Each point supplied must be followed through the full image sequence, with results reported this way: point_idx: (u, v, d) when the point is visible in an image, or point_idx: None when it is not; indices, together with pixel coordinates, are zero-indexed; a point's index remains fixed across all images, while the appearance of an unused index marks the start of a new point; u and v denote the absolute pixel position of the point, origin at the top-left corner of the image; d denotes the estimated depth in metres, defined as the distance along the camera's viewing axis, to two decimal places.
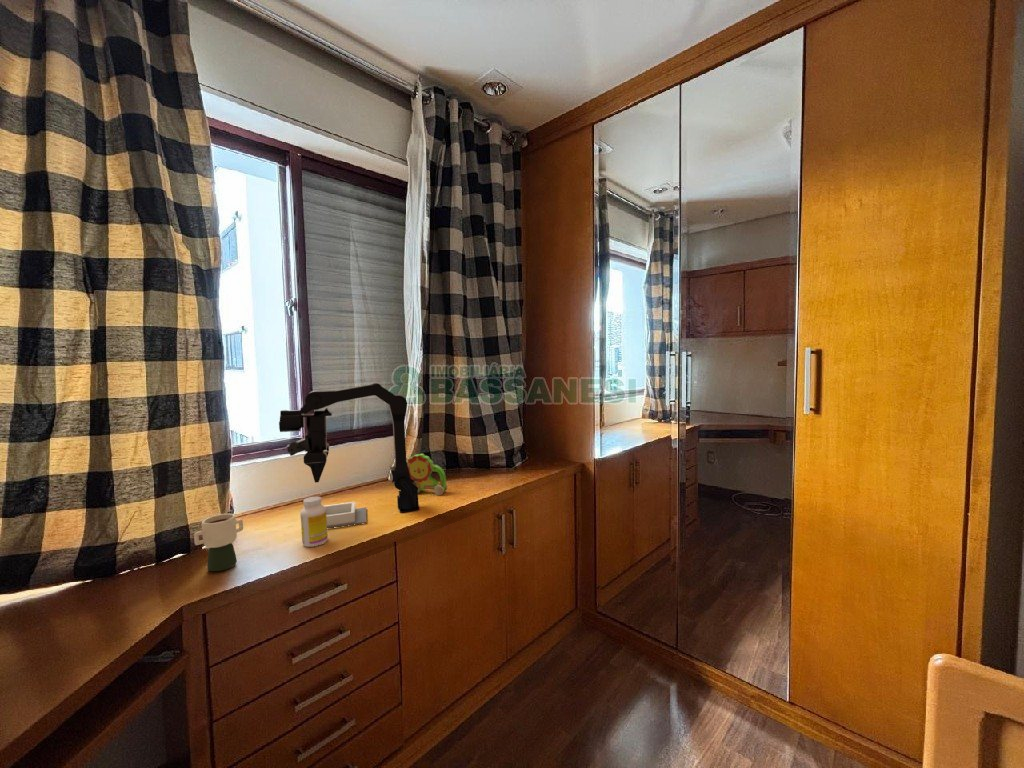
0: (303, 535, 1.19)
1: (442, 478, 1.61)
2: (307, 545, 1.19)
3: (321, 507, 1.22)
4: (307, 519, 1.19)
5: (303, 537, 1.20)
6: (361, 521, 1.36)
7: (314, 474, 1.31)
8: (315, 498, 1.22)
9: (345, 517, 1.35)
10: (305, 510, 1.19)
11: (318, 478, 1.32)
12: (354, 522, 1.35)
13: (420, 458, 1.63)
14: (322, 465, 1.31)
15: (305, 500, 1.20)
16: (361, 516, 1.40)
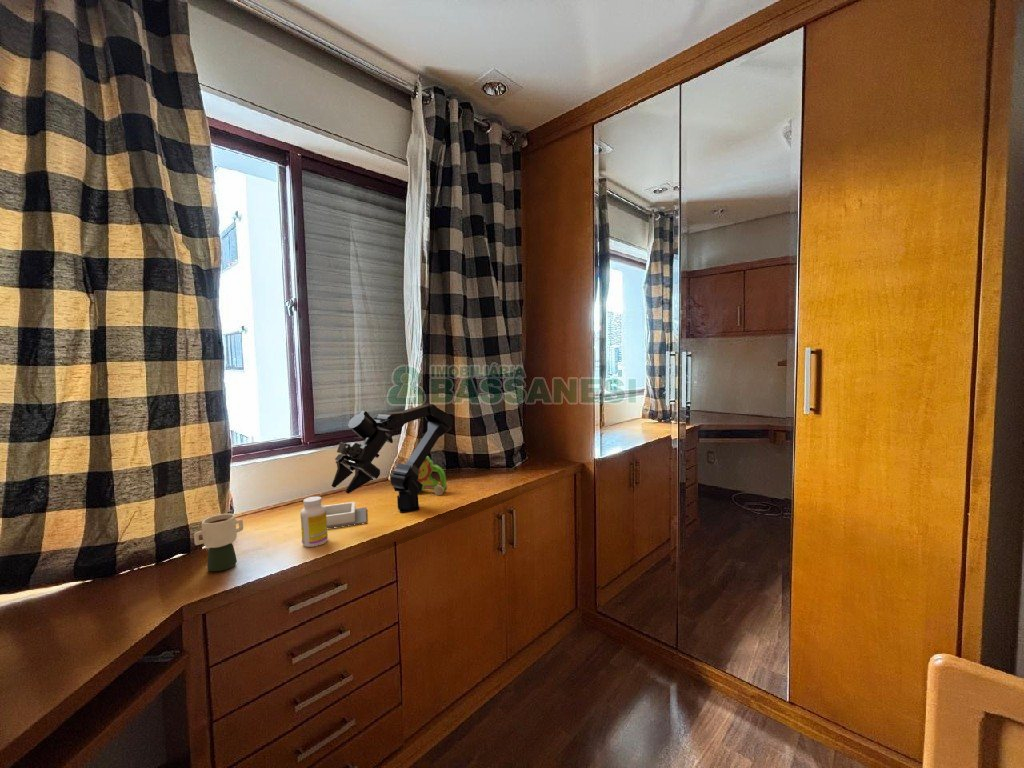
0: (303, 535, 1.19)
1: (442, 478, 1.61)
2: (307, 545, 1.19)
3: (321, 507, 1.22)
4: (307, 519, 1.19)
5: (303, 537, 1.20)
6: (361, 521, 1.36)
7: (353, 484, 1.25)
8: (315, 498, 1.22)
9: (345, 517, 1.35)
10: (305, 510, 1.19)
11: (351, 490, 1.25)
12: (354, 522, 1.35)
13: None
14: (366, 480, 1.27)
15: (305, 500, 1.20)
16: (361, 516, 1.40)
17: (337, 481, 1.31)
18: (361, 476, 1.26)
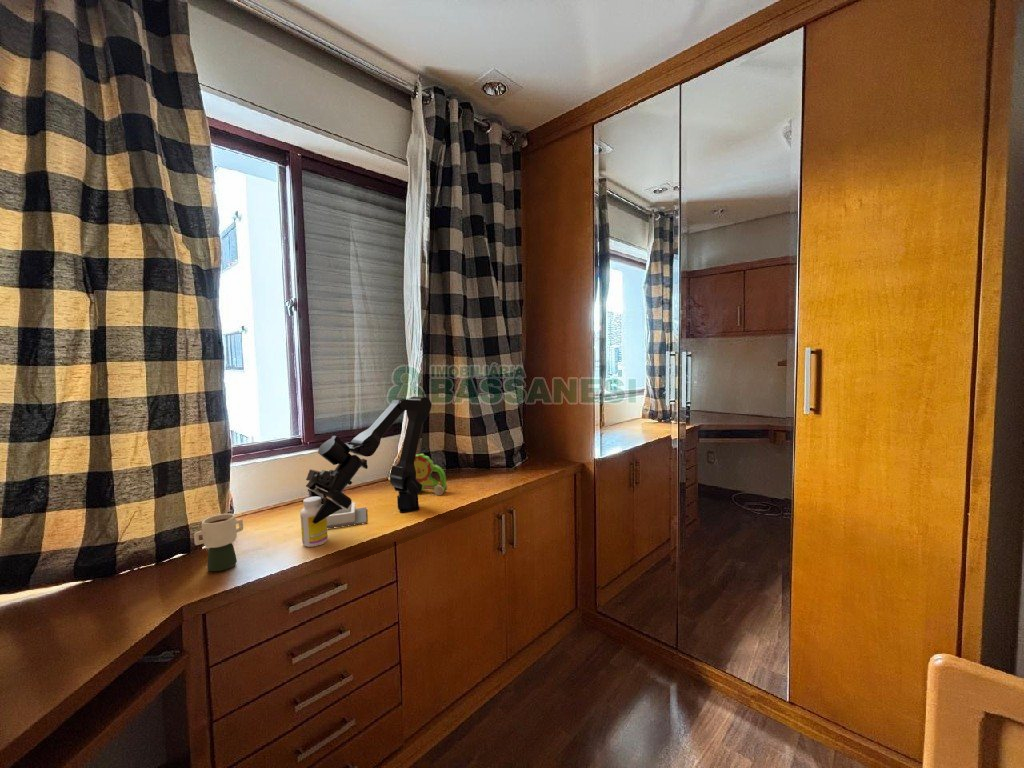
0: (303, 535, 1.19)
1: (442, 478, 1.61)
2: (307, 545, 1.19)
3: None
4: (307, 519, 1.19)
5: (303, 537, 1.20)
6: (361, 521, 1.36)
7: (320, 514, 1.19)
8: (315, 498, 1.22)
9: (345, 517, 1.35)
10: (305, 510, 1.19)
11: (319, 520, 1.19)
12: (354, 522, 1.35)
13: (420, 458, 1.63)
14: (334, 509, 1.21)
15: (305, 500, 1.20)
16: (361, 516, 1.40)
17: None
18: (329, 505, 1.21)
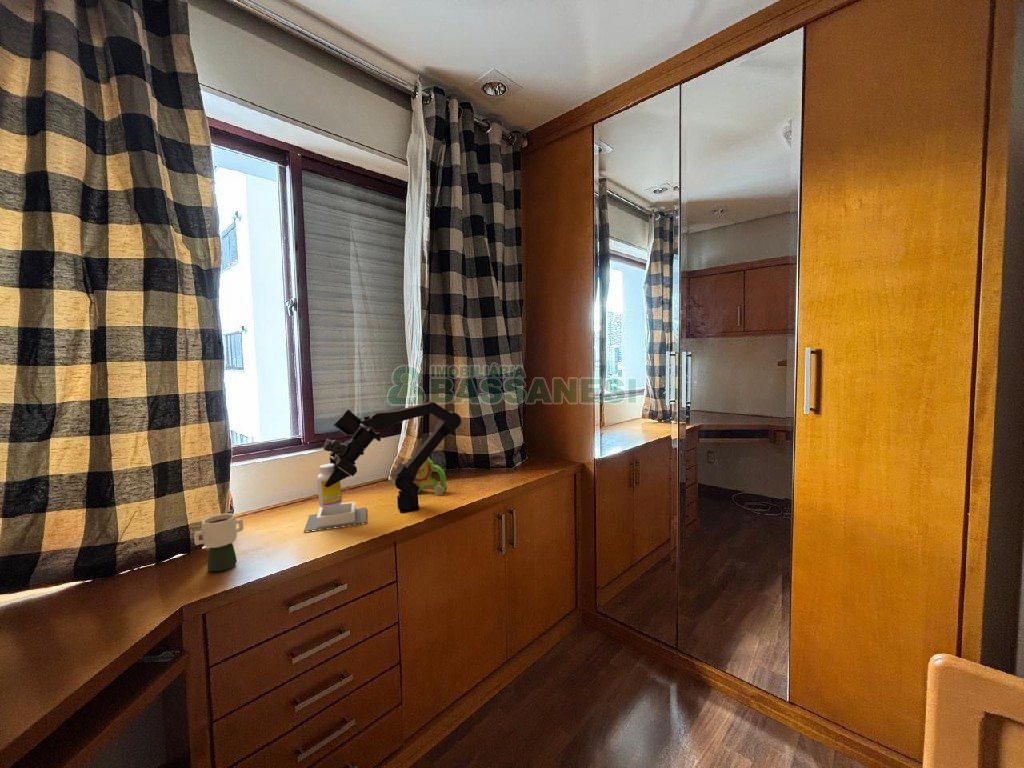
0: (319, 497, 1.33)
1: (442, 478, 1.61)
2: (322, 506, 1.33)
3: None
4: (321, 483, 1.32)
5: (319, 498, 1.33)
6: (361, 521, 1.36)
7: (331, 479, 1.31)
8: (330, 465, 1.35)
9: (345, 517, 1.35)
10: (320, 475, 1.33)
11: (330, 484, 1.31)
12: (354, 522, 1.35)
13: None
14: (344, 476, 1.32)
15: (320, 466, 1.33)
16: (361, 516, 1.40)
17: None
18: (339, 472, 1.32)
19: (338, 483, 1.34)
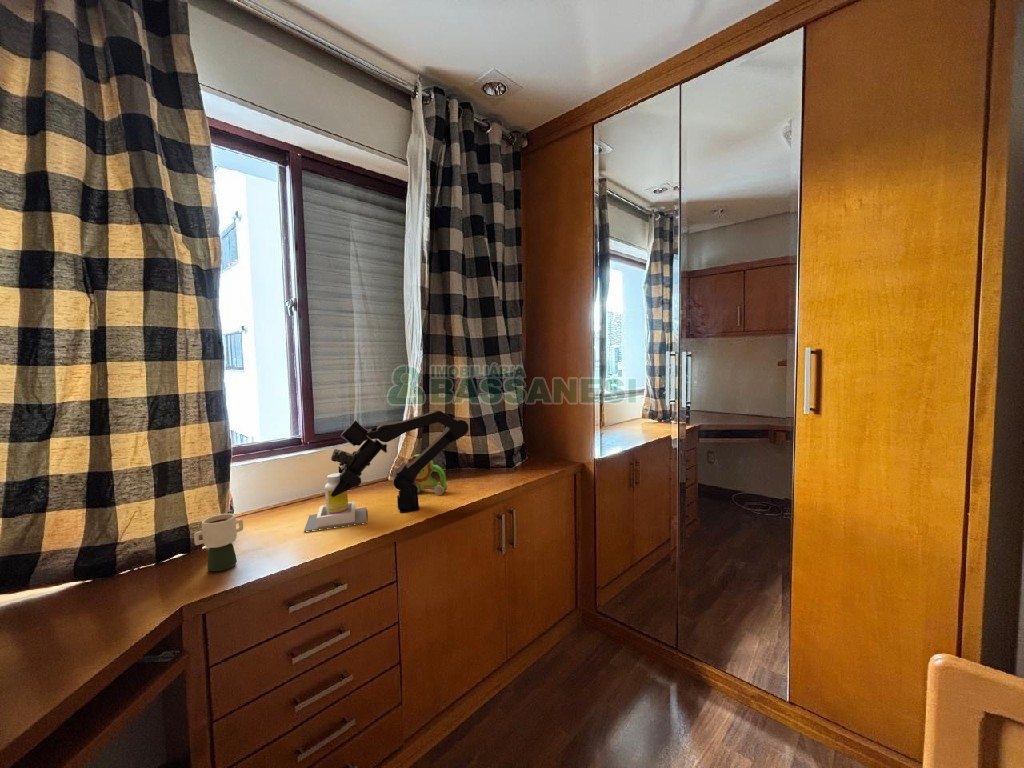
0: (326, 505, 1.37)
1: (442, 478, 1.61)
2: None
3: None
4: (327, 492, 1.35)
5: (326, 507, 1.37)
6: (361, 521, 1.36)
7: (336, 489, 1.34)
8: (337, 474, 1.38)
9: (345, 517, 1.35)
10: (327, 484, 1.37)
11: (336, 494, 1.35)
12: (354, 522, 1.35)
13: None
14: (349, 486, 1.35)
15: (328, 476, 1.37)
16: (361, 516, 1.40)
17: None
18: (345, 482, 1.35)
19: (344, 493, 1.38)
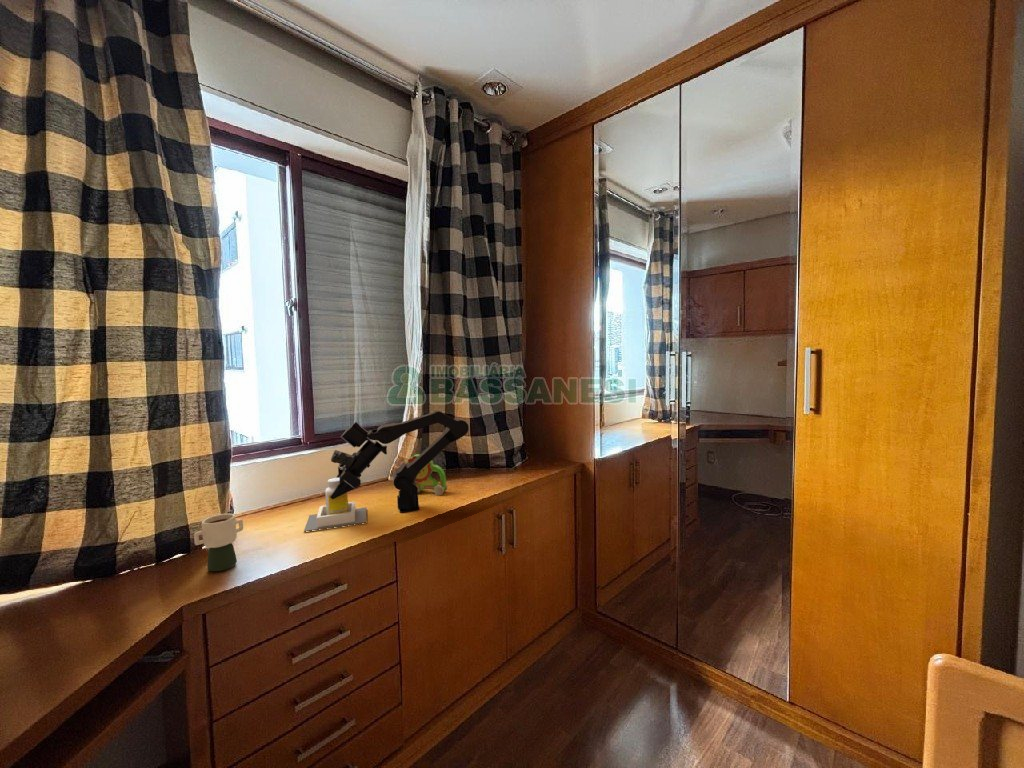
0: (326, 510, 1.37)
1: (442, 478, 1.61)
2: None
3: None
4: (328, 496, 1.36)
5: (326, 511, 1.37)
6: (361, 521, 1.36)
7: (336, 491, 1.33)
8: (338, 479, 1.38)
9: (345, 517, 1.35)
10: (328, 488, 1.37)
11: (335, 496, 1.34)
12: (354, 522, 1.35)
13: None
14: (349, 489, 1.34)
15: (328, 480, 1.37)
16: (361, 516, 1.40)
17: None
18: (345, 484, 1.34)
19: (345, 497, 1.38)
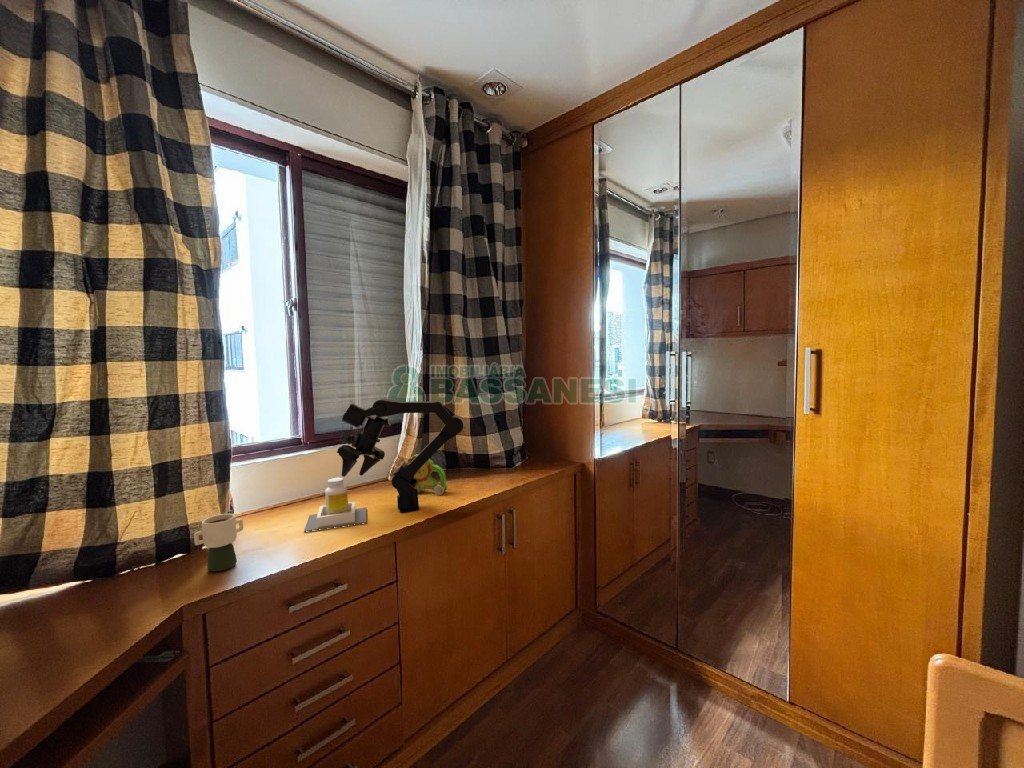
0: (326, 510, 1.37)
1: (442, 478, 1.61)
2: None
3: (341, 487, 1.37)
4: (328, 497, 1.36)
5: (326, 512, 1.37)
6: (361, 521, 1.36)
7: (343, 468, 1.39)
8: (338, 479, 1.38)
9: (345, 517, 1.35)
10: (328, 488, 1.37)
11: (344, 473, 1.39)
12: (354, 522, 1.35)
13: None
14: (350, 463, 1.38)
15: (328, 480, 1.37)
16: (361, 516, 1.40)
17: (362, 470, 1.48)
18: (348, 460, 1.39)
19: (345, 497, 1.38)
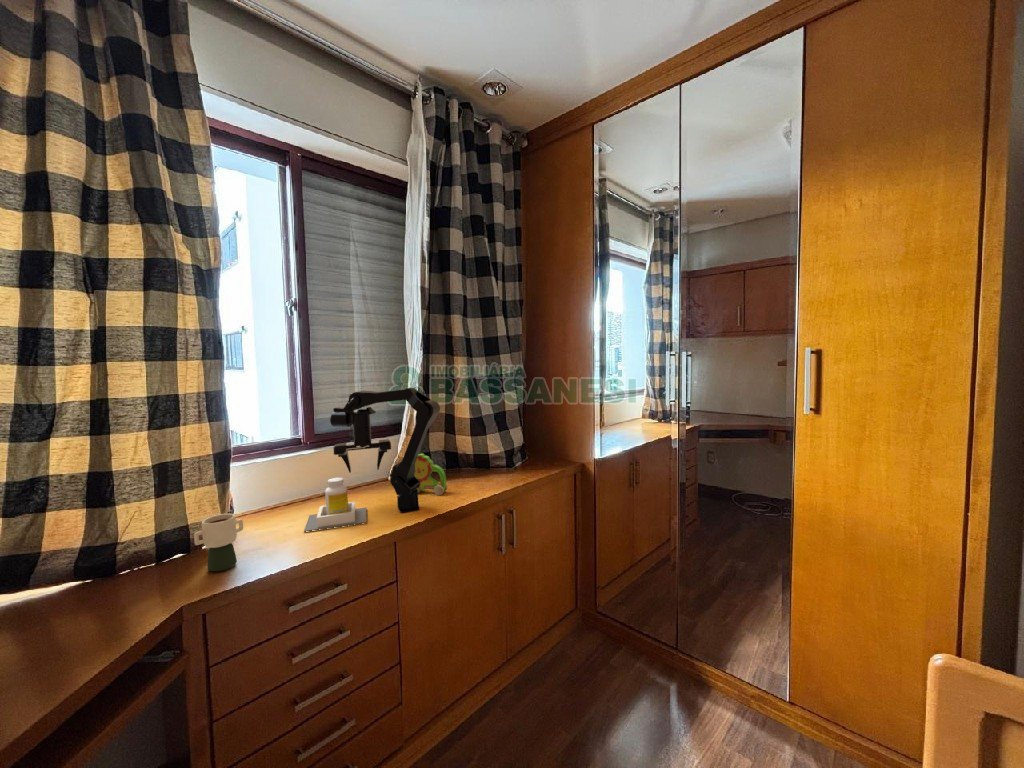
0: (326, 510, 1.37)
1: (442, 478, 1.61)
2: None
3: (341, 487, 1.37)
4: (328, 496, 1.36)
5: (326, 511, 1.37)
6: (361, 521, 1.36)
7: None
8: (338, 479, 1.38)
9: (345, 517, 1.35)
10: (328, 488, 1.37)
11: (348, 469, 1.47)
12: (354, 522, 1.35)
13: (420, 458, 1.63)
14: None
15: (328, 480, 1.37)
16: (361, 516, 1.40)
17: (377, 464, 1.51)
18: None
19: (345, 497, 1.38)
